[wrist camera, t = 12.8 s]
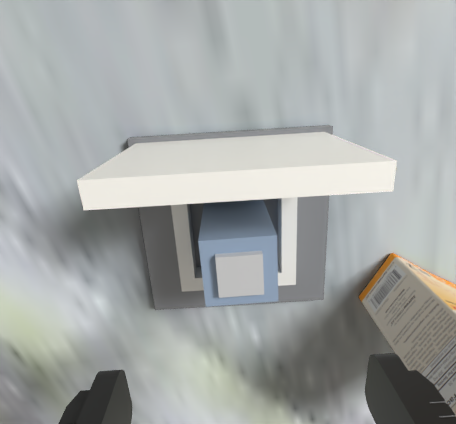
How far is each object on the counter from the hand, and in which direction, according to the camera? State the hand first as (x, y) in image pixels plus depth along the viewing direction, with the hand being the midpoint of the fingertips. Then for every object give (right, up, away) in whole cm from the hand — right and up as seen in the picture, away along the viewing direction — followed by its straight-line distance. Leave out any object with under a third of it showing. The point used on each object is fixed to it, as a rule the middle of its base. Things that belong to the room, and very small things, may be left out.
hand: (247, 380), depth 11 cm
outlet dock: (0, +5, +13) cm, 14 cm away
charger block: (0, +5, +12) cm, 13 cm away
